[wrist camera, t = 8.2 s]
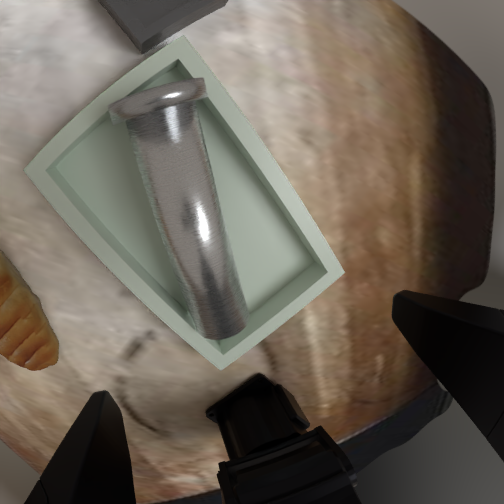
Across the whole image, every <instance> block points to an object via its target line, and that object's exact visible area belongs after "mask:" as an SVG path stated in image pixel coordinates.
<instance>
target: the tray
mask: <svg viewBox="0 0 504 504" xmlns="http://www.w3.org/2000/svg"><path fill="white" fill-rule="evenodd" d="M200 77H203V78H204V80H205V84H206V89H207V93H208V97H207V98H203V99H199V100H195V102H196V106H197V110H198V114H199V118H200V123H201V127H202V131H203V135H204V139H205V143H206V147H207V152H208V156H209V160H210V164H211V168H212V172H213V176H214V180H215V184H216V188H217V192H218V196H219V200H220V204H221V208H222V212H223V216H224V220H225V223H226V227H227V231H228V235H229V239H230V243H231V247H232V251H233V254H234V258H235V262H236V266H237V270H238V274H239V277H240V281H241V285H242V289H243V292H244V296H245V300H246V304H247V307H248V311H249V321H248V324H247V325H246V327H245V328H244V329H243V330H242V331H241V332H239V333H238V334H236V335H234V336H232V337H230V338H226V339H222V340H211V339H207V338H204V337H202V336H201V335H200V334H199V333H198V331H197V329H196V327H195V324H194V322H193V319H192V317H191V314H190V312H189V310H188V307H187V305H186V302H185V299H184V297H183V294H182V292H181V289H180V287H179V284H178V281H177V279H176V276H175V274H174V271H173V268H172V266H171V263H170V260H169V257H168V255H167V252H166V249H165V246H164V243H163V241H162V238H161V235H160V232H159V229H158V226H157V223H156V220H155V217H154V214H153V211H152V208H151V205H150V202H149V199H148V196H147V193H146V190H145V187H144V184H143V180H142V177H141V174H140V171H139V167H138V164H137V161H136V157H135V154H134V150H133V147H132V143H131V140H130V136H129V133H128V129H127V125H126V122H122V123H119V124H116V125H112V122H111V118H110V114H109V111H108V107H107V106H108V105H109V104H111V103H113V102H115V101H117V100H120V99H122V98H124V97H127V96H130V95H132V94H135V93H138V92H141V91H144V90H147V89H150V88H154V87H157V86H161V85H164V84H168V83H172V82H177V81H181V80H186V79H192V78H200ZM23 171H24V172H25V173H26V174H27V176H28V177H29V178H30V180H31V181H32V182H33V183H34V185H35V186H36V187H37V188H38V190H39V191H40V192H41V193H42V195H43V196H44V197H45V198H46V200H47V201H48V202H49V203H50V204H51V206H52V207H53V208H54V209H55V210H56V212H57V213H58V214H59V215H60V216H61V217H62V219H63V220H64V221H65V222H66V223H67V224H68V225H69V227H70V228H71V229H72V230H73V231H74V232H75V233H76V234H77V236H78V237H79V238H80V239H81V240H82V241H83V242H84V243H85V244H86V245H87V247H88V248H89V249H90V250H91V251H92V252H93V253H94V254H95V255H96V256H97V257H98V258H99V259H100V260H101V261H102V262H103V264H104V265H105V266H106V267H107V268H108V269H109V270H110V271H111V272H112V273H113V274H114V275H115V276H116V277H117V278H118V279H119V280H120V281H121V282H122V283H123V284H124V285H125V286H126V287H127V288H128V289H129V290H130V291H131V292H132V293H133V294H134V295H135V296H136V297H138V298H139V299H140V300H141V301H142V302H143V303H144V304H145V305H146V306H147V307H148V308H149V309H150V310H151V311H152V312H153V313H154V314H156V315H157V316H158V317H159V318H160V319H161V320H162V321H163V322H164V323H165V324H167V325H168V326H169V327H170V328H171V329H172V330H173V331H174V332H176V333H177V334H178V335H179V336H180V337H181V338H182V339H184V340H185V341H186V342H187V343H188V344H189V345H190V346H192V347H193V348H194V349H195V350H196V351H198V352H199V353H200V354H201V355H202V356H204V357H205V358H206V359H207V360H208V361H210V362H211V363H212V364H213V365H214V366H216V367H217V368H218V369H219V370H223V369H224V368H225V367H227V366H228V365H229V364H231V363H232V362H234V361H235V360H236V359H238V358H239V357H240V356H242V355H243V354H244V353H246V352H247V351H248V350H250V349H251V348H252V347H254V346H255V345H256V344H258V343H259V342H260V341H262V340H263V339H264V338H265V337H267V336H268V335H269V334H271V333H272V332H273V331H275V330H276V329H277V328H278V327H280V326H281V325H282V324H283V323H285V322H286V321H287V320H288V319H290V318H291V317H292V316H293V315H295V314H296V313H297V312H298V311H300V310H301V309H302V308H303V307H305V306H306V305H307V304H308V303H310V302H311V301H312V300H313V299H314V298H316V297H317V296H318V295H319V294H320V293H322V292H323V291H324V290H325V289H326V288H328V287H329V286H330V285H331V284H332V283H333V282H335V281H336V280H337V279H338V278H339V277H340V276H342V275H343V274H344V273H345V272H344V270H343V268H342V267H341V265H340V263H339V261H338V260H337V258H336V256H335V255H334V253H333V251H332V250H331V248H330V246H329V245H328V243H327V241H326V240H325V238H324V236H323V235H322V233H321V231H320V230H319V228H318V226H317V225H316V223H315V221H314V220H313V218H312V217H311V215H310V213H309V212H308V210H307V209H306V207H305V205H304V204H303V202H302V201H301V199H300V197H299V196H298V194H297V193H296V191H295V190H294V188H293V186H292V185H291V183H290V182H289V180H288V179H287V177H286V176H285V174H284V173H283V171H282V170H281V168H280V167H279V165H278V164H277V162H276V161H275V159H274V158H273V156H272V155H271V153H270V152H269V150H268V149H267V147H266V146H265V144H264V143H263V141H262V140H261V138H260V137H259V136H258V134H257V133H256V131H255V130H254V128H253V127H252V125H251V124H250V123H249V121H248V120H247V118H246V117H245V116H244V114H243V113H242V111H241V110H240V109H239V107H238V106H237V104H236V103H235V102H234V100H233V99H232V97H231V96H230V95H229V93H228V92H227V91H226V89H225V88H224V87H223V85H222V84H221V83H220V81H219V80H218V79H217V77H216V76H215V75H214V73H213V72H212V71H211V69H210V68H209V67H208V65H207V64H206V63H205V61H204V60H203V59H202V58H201V56H200V55H199V54H198V52H197V51H196V50H195V49H194V47H193V46H192V45H191V44H190V42H189V41H188V40H187V39H186V37H185V36H184V35H183V36H181V37H180V38H178V39H176V40H175V41H173V42H172V43H170V44H168V45H167V46H165V47H164V48H162V49H161V50H159V51H158V52H156V53H155V54H153V55H152V56H150V57H149V58H147V59H146V60H145V61H143V62H142V63H140V64H139V65H138V66H136V67H135V68H133V69H132V70H131V71H129V72H128V73H127V74H125V75H124V76H123V77H121V78H120V79H119V80H118V81H116V82H115V83H114V84H112V85H111V86H110V87H109V88H107V89H106V90H105V91H104V92H103V93H101V94H100V95H99V96H98V97H97V98H95V99H94V100H93V101H92V102H91V103H90V104H88V105H87V106H86V107H85V108H84V109H83V110H82V111H81V112H79V113H78V114H77V115H76V116H75V117H74V118H73V119H72V120H71V121H70V122H69V123H68V124H67V125H65V126H64V127H63V128H62V129H61V130H60V131H59V132H58V133H57V134H56V135H55V136H54V137H53V138H52V139H51V140H50V141H49V142H48V143H47V144H46V145H45V147H44V148H43V149H42V150H41V151H40V152H39V153H38V154H37V155H36V156H35V157H34V158H33V159H32V161H31V162H30V163H29V164H28V165H27V166H26V167H25V168H24V170H23Z"/></svg>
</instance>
